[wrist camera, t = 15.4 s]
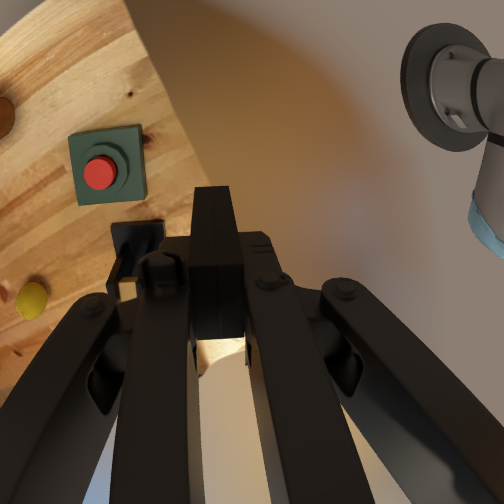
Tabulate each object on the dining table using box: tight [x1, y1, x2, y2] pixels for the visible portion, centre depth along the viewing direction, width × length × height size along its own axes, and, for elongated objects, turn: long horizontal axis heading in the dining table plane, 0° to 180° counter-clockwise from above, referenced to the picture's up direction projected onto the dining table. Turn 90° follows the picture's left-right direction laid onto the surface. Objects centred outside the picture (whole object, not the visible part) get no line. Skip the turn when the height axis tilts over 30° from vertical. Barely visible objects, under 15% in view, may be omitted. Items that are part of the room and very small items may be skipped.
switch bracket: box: [106, 220, 166, 303], centre depth 43 cm, size 10×8×12 cm
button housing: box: [68, 125, 147, 206], centre depth 39 cm, size 10×10×4 cm
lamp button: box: [84, 156, 117, 190], centre depth 36 cm, size 4×4×2 cm
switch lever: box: [119, 277, 139, 302], centre depth 40 cm, size 13×5×2 cm, turn 179°
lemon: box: [16, 282, 47, 319], centre depth 45 cm, size 6×6×8 cm
